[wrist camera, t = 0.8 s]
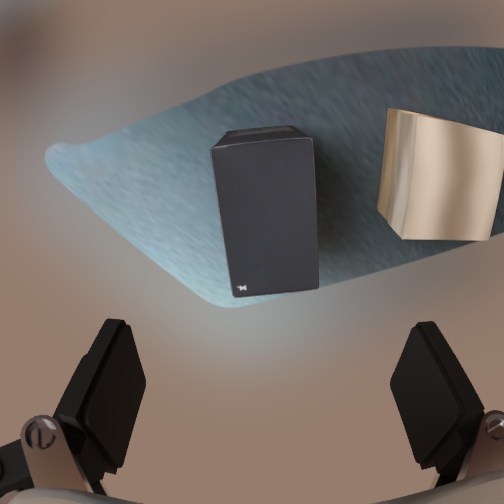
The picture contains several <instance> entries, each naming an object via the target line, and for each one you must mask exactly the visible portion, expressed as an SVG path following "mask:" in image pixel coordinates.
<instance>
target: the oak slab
mask: <svg viewBox="0 0 504 504" xmlns="http://www.w3.org/2000/svg"><path fill="white" fill-rule="evenodd" d="M399 112H400V113H406V114H412V115H418V116H424V117H429V118H435V119H440V118H436V117H432V116H428V115H423V114H418V113H414V112H409V111H404V110H397V109H390V108H388V114H387V126H386V137H385V147H384V156H383V164H382V172H381V180H380V187H379V194H378V201H377V207H376V209H377V210H378V211H379V213H380V214H381V215H382V216H383V217H384V218H385V219H386V220H388V215H389V208H390V201H391V193H392V185H393V176H394V167H395V156H396V145H397V131H398V114H399ZM440 120H444V121H448V120H445V119H440ZM449 122H452V121H449ZM454 123H456V122H454ZM458 124H460V123H458ZM463 125H464V124H463Z"/></svg>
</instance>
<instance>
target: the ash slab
mask: <svg viewBox="0 0 504 504" xmlns="http://www.w3.org/2000/svg"><path fill="white" fill-rule="evenodd" d="M503 170H504V135H501V134H498V133H494V132H491V131H487V130H483V129H479V128H475V127H471V126H467V125H463V124H458V123H454V122H449V121H444V120H440V119H435V118H429V117H424V116H418V115H412V114H406V113H400V112H399V114H398V131H397V145H396V156H395V167H394V176H393V185H392V193H391V201H390V208H389V215H388V221H387V223H388V224H389V225H390V227H391V228H392V229H393V230H394V231H395V232H396V233H397V234H398V235H399V236H400V237H401V239H424V240H477V241H488V240H489V237H490V233H491V229H492V225H493V221H494V217H495V212H496V208H497V203H498V198H499V193H500V188H501V182H502V176H503Z"/></svg>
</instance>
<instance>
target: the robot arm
mask: <svg viewBox="0 0 504 504" xmlns="http://www.w3.org/2000/svg"><path fill="white" fill-rule="evenodd" d="M145 387H146V379H145V375H144V372H143V369H142V365H141V362H140V359H139V355H138V352H137V348H136V345H135V341H134V338H133V334H132V330H131V327H130V326H129V325H126V323H125V321H124V320H120V319H106V321H105V322H104V324H103V326H102V328H101V329H100V331H99V333H98V335H97V337H96V338H95V340H94V342H93V344H92V346H91V348H90V350H89V351H88V353H87V354H86V355H84V356H83V358H82V359H81V361H80V363H79V364H78V366H77V369H76V370H75V372H74V374H73V376H72V378H71V380H70V382H69V384H68V386H67V388H66V390H65V392H64V394H63V396H62V398H61V400H60V402H59V404H58V406H57V408H56V410H55V413H54V415H53V417H50V416H48V415H38V416H35V417H33V418H31V419H29V420H28V421H27V422H26V423H25V424H24V426H23V428H22V430H21V434H20V436H21V439H19V440H16V441H14V442H11V443H9V444H7V445H4V446H2V447H0V504H142V503H137V502H131V501H127V500H122V499H118V498H113V497H111V496H110V495H109V493H108V491H107V489H106V487H105V485H104V483H103V482H102V479H103V476H104V473H105V472H107V473H112V474H116V472H117V468H121V467H122V466H123V463H124V460H125V456H126V452H127V448H128V445H129V441H130V438H131V434H132V431H133V428H134V424H135V420H136V417H137V414H138V411H139V407H140V404H141V400H142V397H143V394H144V391H145ZM390 387H391V390H392V393H393V396H394V399H395V401H396V404H397V407H398V410H399V413H400V416H401V418H402V421H403V424H404V427H405V430H406V433H407V436H408V439H409V442H410V445H411V448H412V452H413V455H414V458H415V460H416V462H417V463H420V466H421V469H422V470H423V469H427V468H431V467H434V466H435V467H436V470H437V473H436V475H435V477H434V479H433V482H432V484H431V486H430V488H429V490H426V491H423V492H419V493H415V494H412V495H408V496H404V497H400V498H396V499H392V500H387V501H382V502H377V503H372V504H504V412H502V411H498V410H492V411H489V412H487V413H486V414H485V413H484V411H483V410H484V406H483V404H482V402H481V400H480V399H479V397H478V395H477V393H476V391H475V389H474V387H473V386H472V384H471V382H470V380H469V378H468V377H467V375H466V373H465V371H464V370H463V368H462V366H461V364H460V363H459V361H458V359H457V358H456V356H455V354H454V353H453V351H452V349H451V348H450V346H449V344H448V343H447V341H446V340H445V338H444V336H443V335H442V333H441V332H440V330H439V329H438V327H437V325H436V324H435V323H434V322H433V321H428V322H418V323H417V324H416V326H415V327H413V328H412V329H411V331H410V334H409V337H408V339H407V342H406V344H405V347H404V349H403V352H402V354H401V357H400V359H399V362H398V364H397V366H396V368H395V371H394V373H393V375H392V377H391V381H390Z"/></svg>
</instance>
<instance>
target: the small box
mask: <svg viewBox="0 0 504 504" xmlns="http://www.w3.org/2000/svg"><path fill="white" fill-rule="evenodd" d="M210 156H211V163H212V170H213V178H214V184H215V190H216V197H217V204H218V210H219V217H220V224H221V230H222V236H223V242H224V247H225V254H226V260H227V267H228V273H229V278H230V284H231V290H232V295H233V297H235V298H242V297H250V296H262V295H271V294H282V293H292V292H300V291H309V290H317V289H318V288H319V265H318V228H317V202H316V182H315V163H314V148H313V140H312V138H310V137H308V136H307V135H305V134H303V133H302V132H300V131H299V130H297V129H295V128H294V127H293V126H275V127H264V128H254V129H245V130H236V131H228V132H226V133H225V134H224V136H223V137H222V138H221V139H220V140H219V141H218V143H216V145H214V146H213V147H211V148H210Z"/></svg>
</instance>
